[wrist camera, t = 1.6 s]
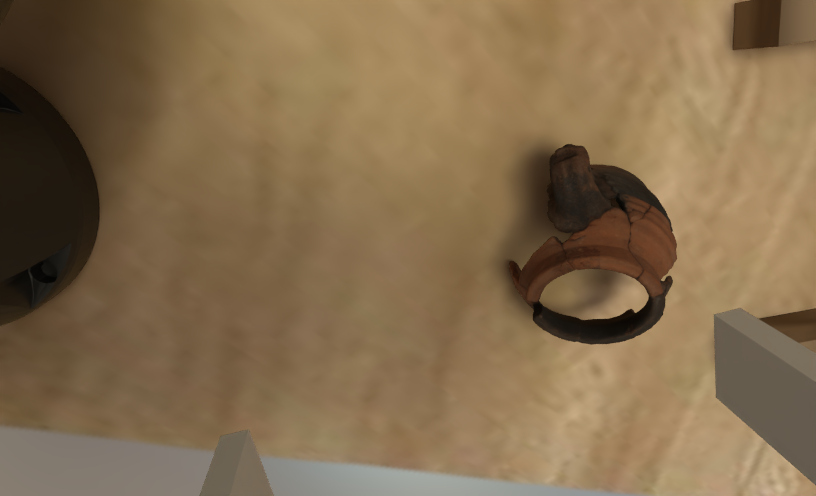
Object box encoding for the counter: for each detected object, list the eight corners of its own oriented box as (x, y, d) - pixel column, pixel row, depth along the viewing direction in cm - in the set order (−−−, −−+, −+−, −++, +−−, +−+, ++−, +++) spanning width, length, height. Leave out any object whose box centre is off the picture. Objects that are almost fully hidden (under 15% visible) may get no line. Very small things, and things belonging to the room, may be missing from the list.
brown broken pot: (678, 238, 35) (705, 340, 29) (540, 272, 39) (539, 365, 33) (628, 83, 28) (649, 173, 23) (469, 144, 33) (453, 232, 27)
